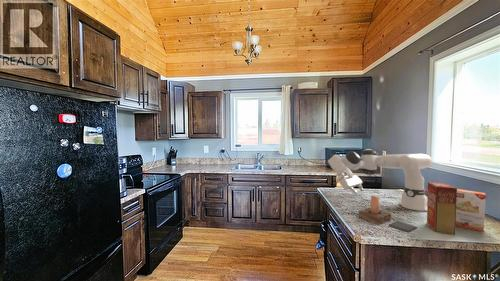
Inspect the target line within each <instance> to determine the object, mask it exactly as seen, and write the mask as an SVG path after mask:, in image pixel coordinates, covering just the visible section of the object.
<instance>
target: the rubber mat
mask: <svg viewBox="0 0 500 281" xmlns="http://www.w3.org/2000/svg"><path fill="white" fill-rule="evenodd" d="M388 226H389V227H392V228H393V229H394V228H395V229H398V230H401V231H403V232H406V233H410V232H412V231H415V230H417V228H418V227H417V226H415V225H412V224H409V223H405V222H403V221H400V220H395V221H394V222H391V223H389V224H388Z"/></svg>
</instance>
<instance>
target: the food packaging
mask: <svg viewBox="0 0 500 281" xmlns="http://www.w3.org/2000/svg"><path fill="white" fill-rule="evenodd" d="M457 189H458V188H456V187H454V186H452V185H450V184H448V183H445V182H433V181H428V182H427V211H426V224H427V225H428V226H429V228H430V229H432V230H433V231H434V232H435V233H439V234H440V233H441V234H448V235H453V236H454V235H455V236H456V228H457V226H456V199H457Z"/></svg>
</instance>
